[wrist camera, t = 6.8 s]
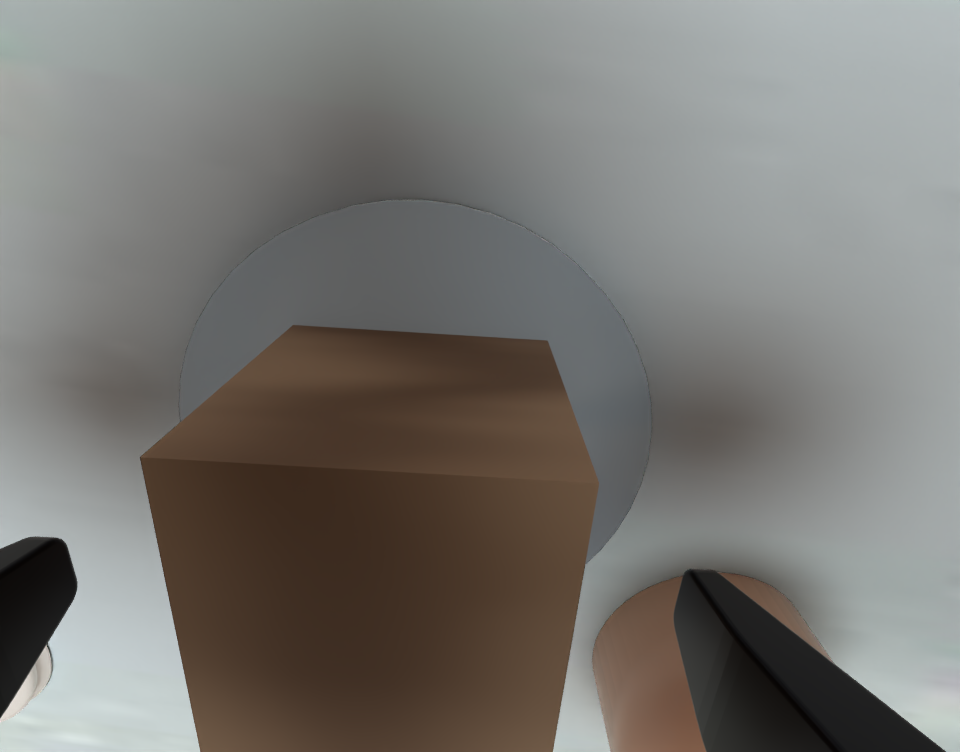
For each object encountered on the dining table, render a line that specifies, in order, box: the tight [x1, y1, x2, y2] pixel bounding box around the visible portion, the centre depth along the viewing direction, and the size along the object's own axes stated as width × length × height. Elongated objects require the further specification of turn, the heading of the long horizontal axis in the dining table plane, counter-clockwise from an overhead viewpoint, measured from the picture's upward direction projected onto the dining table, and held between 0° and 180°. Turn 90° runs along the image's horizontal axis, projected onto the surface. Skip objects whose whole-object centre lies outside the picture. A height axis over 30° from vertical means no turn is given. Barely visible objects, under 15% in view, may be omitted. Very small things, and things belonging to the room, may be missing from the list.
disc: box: [179, 200, 652, 564], centre depth 12 cm, size 10×10×1 cm
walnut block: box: [140, 325, 599, 752], centre depth 9 cm, size 5×5×5 cm
